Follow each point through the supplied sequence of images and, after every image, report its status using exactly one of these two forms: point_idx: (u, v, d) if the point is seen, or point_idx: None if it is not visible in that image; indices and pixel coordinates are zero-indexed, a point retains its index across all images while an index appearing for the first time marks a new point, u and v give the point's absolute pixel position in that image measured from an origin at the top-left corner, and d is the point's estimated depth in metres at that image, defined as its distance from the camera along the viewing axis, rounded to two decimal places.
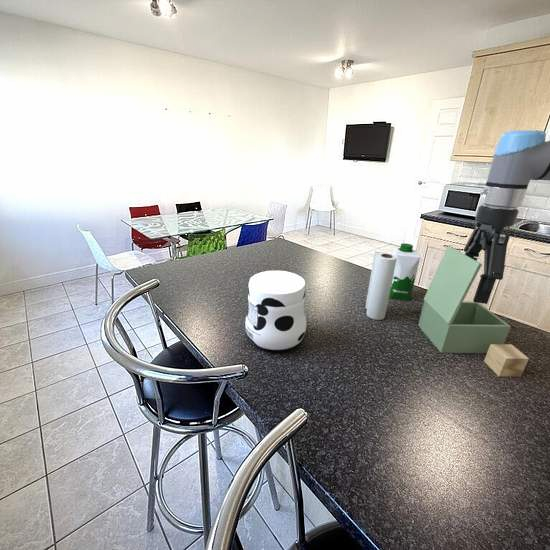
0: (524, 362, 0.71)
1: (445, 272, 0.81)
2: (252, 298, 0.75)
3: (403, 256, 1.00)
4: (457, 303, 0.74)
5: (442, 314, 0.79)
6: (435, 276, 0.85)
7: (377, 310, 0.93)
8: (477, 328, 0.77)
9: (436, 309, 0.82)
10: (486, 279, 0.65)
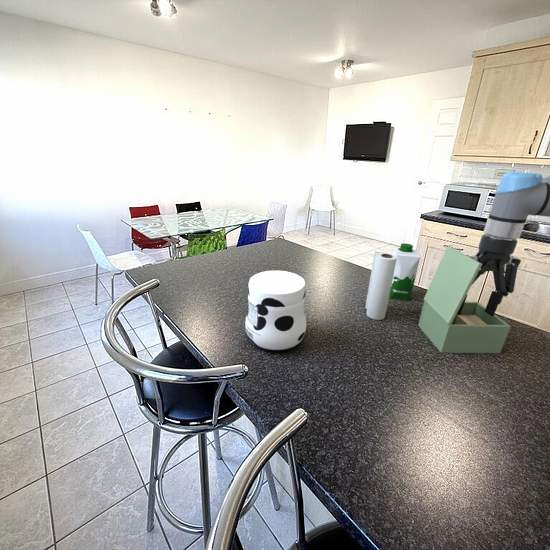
0: None
1: (445, 272, 0.81)
2: (252, 298, 0.75)
3: (403, 256, 1.00)
4: (457, 303, 0.74)
5: (442, 314, 0.79)
6: (435, 276, 0.85)
7: (377, 310, 0.93)
8: (477, 328, 0.77)
9: (436, 309, 0.82)
10: None
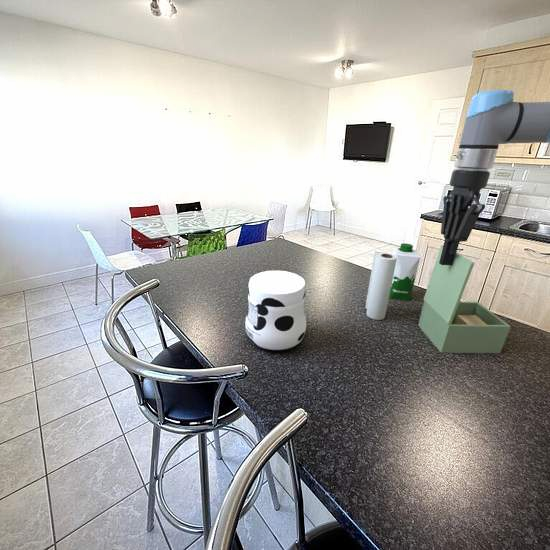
0: None
1: (441, 272, 0.81)
2: (252, 298, 0.75)
3: (403, 256, 1.00)
4: (454, 303, 0.74)
5: (442, 315, 0.79)
6: (432, 276, 0.85)
7: (377, 310, 0.93)
8: (477, 328, 0.77)
9: (436, 309, 0.82)
10: None
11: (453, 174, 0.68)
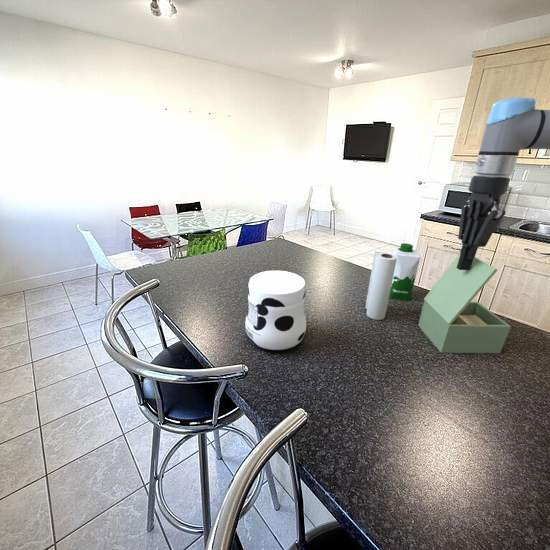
0: None
1: (454, 275, 0.82)
2: (252, 298, 0.75)
3: (403, 256, 1.00)
4: (462, 304, 0.75)
5: (443, 314, 0.79)
6: (441, 278, 0.85)
7: (377, 310, 0.93)
8: (477, 328, 0.77)
9: (437, 309, 0.82)
10: None
11: (473, 180, 0.69)
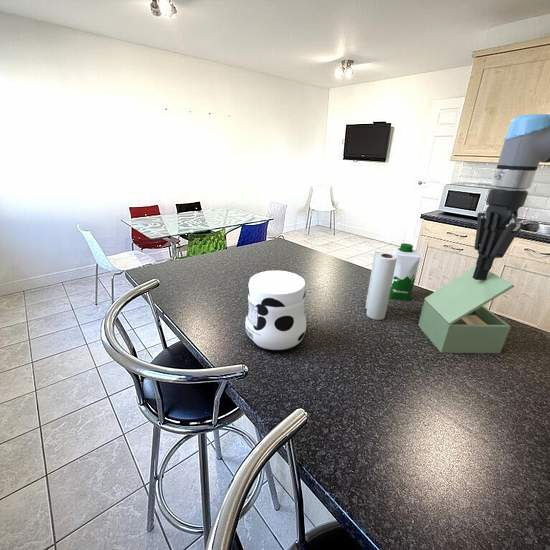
0: None
1: (464, 283, 0.83)
2: (252, 298, 0.75)
3: (403, 256, 1.00)
4: (469, 309, 0.75)
5: (445, 315, 0.79)
6: (449, 284, 0.86)
7: (377, 310, 0.93)
8: (477, 328, 0.77)
9: (438, 309, 0.82)
10: None
11: (490, 193, 0.70)
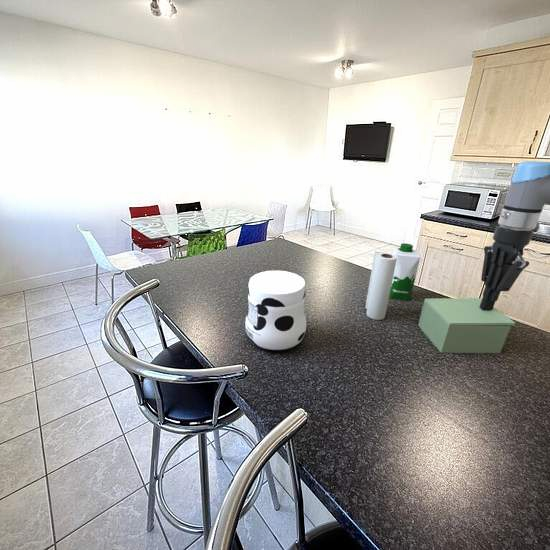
0: None
1: (467, 304, 0.85)
2: (252, 298, 0.75)
3: (403, 256, 1.00)
4: (471, 322, 0.77)
5: (446, 316, 0.79)
6: (452, 299, 0.88)
7: (377, 310, 0.93)
8: (477, 328, 0.77)
9: (439, 310, 0.82)
10: None
11: (497, 231, 0.74)
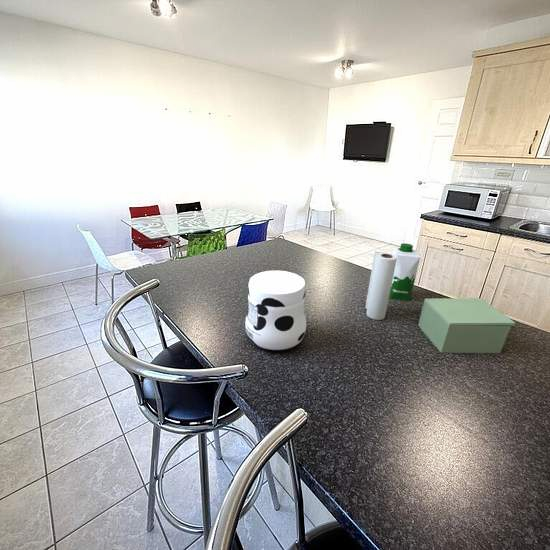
0: None
1: (467, 304, 0.85)
2: (252, 298, 0.75)
3: (403, 256, 1.00)
4: (471, 322, 0.77)
5: (446, 316, 0.79)
6: (452, 299, 0.88)
7: (377, 310, 0.93)
8: (477, 328, 0.77)
9: (439, 310, 0.82)
10: None
11: None
